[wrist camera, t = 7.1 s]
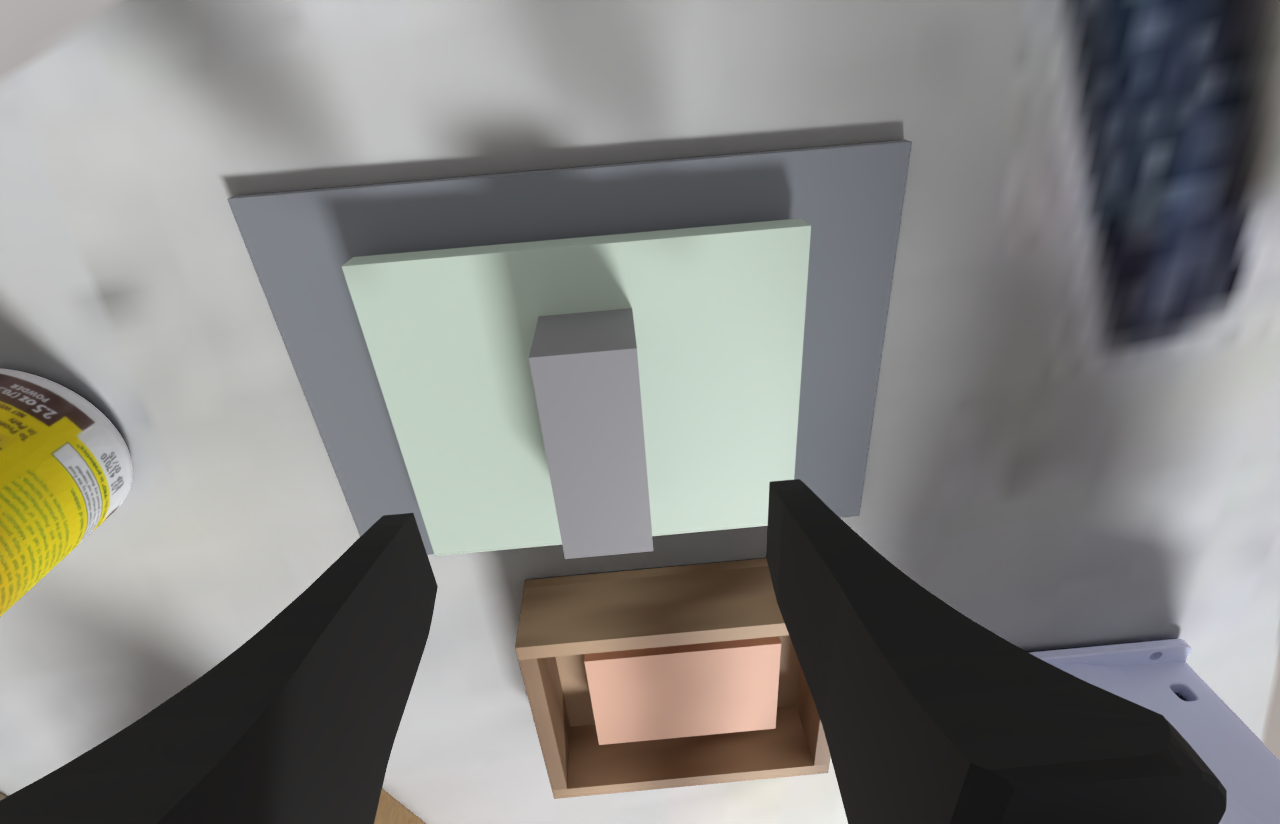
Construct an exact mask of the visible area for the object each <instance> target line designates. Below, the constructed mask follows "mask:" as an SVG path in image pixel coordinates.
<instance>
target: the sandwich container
mask: <svg viewBox="0 0 1280 824" xmlns="http://www.w3.org/2000/svg"><path fill="white" fill-rule="evenodd" d="M374 824H426V823H425V822H424V821H422V820H421V819H420V818H419V817H417V816H416V815H415V814H414V813H412V812H411V811H410V810H408V809H407V808H406V807H405V806H403V805H402V804H401V803H400V802H398V801H397V800H396V799H395V798H393V797H392V796H391V795H390V794H388V793H387V792H386V791H385V790H383V789H382V790H381V795H380V799H379V804H378V808H377V813H376V817H375V822H374Z"/></svg>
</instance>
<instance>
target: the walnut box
mask: <svg viewBox="0 0 1280 824" xmlns="http://www.w3.org/2000/svg"><path fill="white" fill-rule="evenodd" d="M515 649H516V653H517V657H518V661H519V664H520V668H521V672H522V676H523V680H524V684H525V688H526V692H527V695H528V699H529V703H530V707H531V711H532V715H533V719H534V722H535V726H536V730H537V734H538V738H539V742H540V746H541V750H542V753H543V757H544V761H545V765H546V769H547V773H548V777H549V781H550V784H551V788H552V792H553V796H554V799H556V798H567V797H577V796H588V795H599V794H609V793H620V792H630V791H641V790H651V789H662V788H673V787H683V786H694V785H704V784H715V783H726V782H736V781H747V780H757V779H768V778H778V777H789V776H800V775H810V774H821V773H828V769H829V763H830V756H831V755H830V752H829V748H828V744H827V741H826V737H825V733H824V730H823V726H822V723H821V720H820V717H819V714H818V711H817V708H816V705H815V702H814V699H813V697H812V694H811V692H810V689H809V686H808V684H807V681H806V678H805V676H804V673H803V670H802V668H801V665H800V662H799V660H798V657H797V655H796V652H795V649H794V647H793V644H792V641H791V639H790V636H789V633H788V631H787V628H786V625H785V623H784V620H783V617H782V614H781V612H780V609H779V606H778V603H777V600H776V596H775V592H774V588H773V584H772V580H771V576H770V571H769V567H768V563H767V558H763V559H752V560H741V561H729V562H718V563H707V564H696V565H685V566H674V567H663V568H652V569H641V570H630V571H619V572H608V573H597V574H586V575H575V576H564V577H553V578H542V579H531V580H525V585H524V592H523V599H522V605H521V612H520V619H519V626H518V633H517V640H516V646H515Z"/></svg>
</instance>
